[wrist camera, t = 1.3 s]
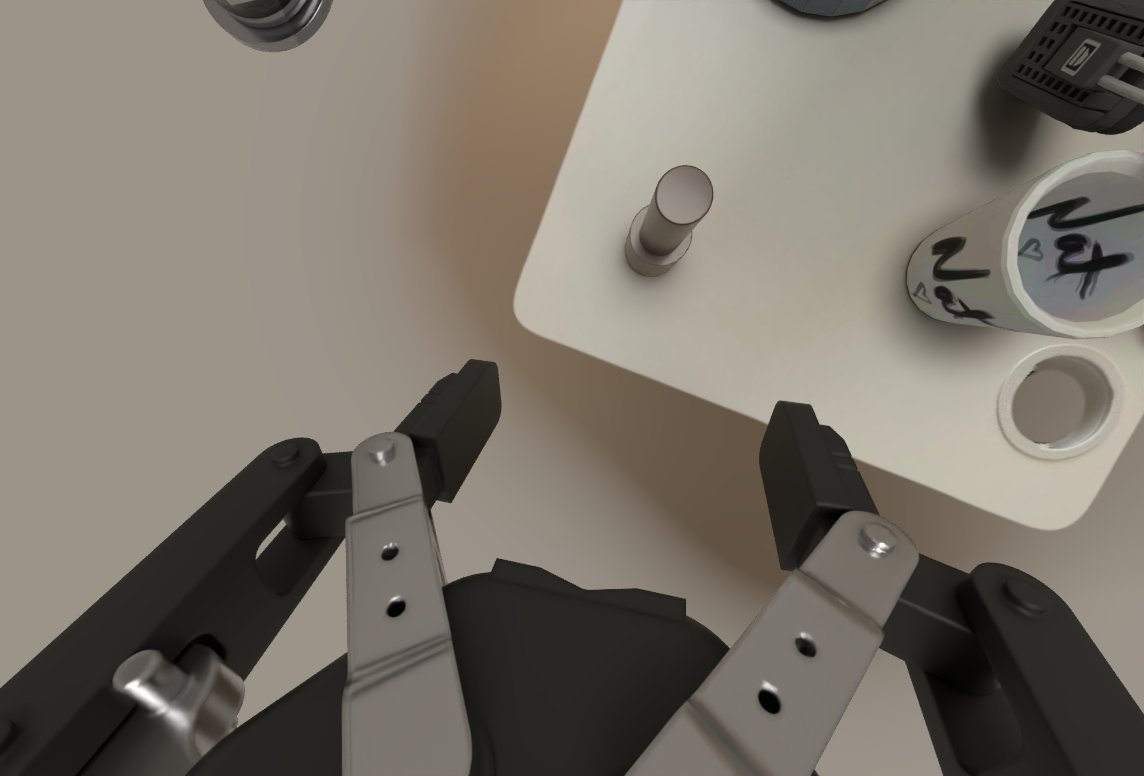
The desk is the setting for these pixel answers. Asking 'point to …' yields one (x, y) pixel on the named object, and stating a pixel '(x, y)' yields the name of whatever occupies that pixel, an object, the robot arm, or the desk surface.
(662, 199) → the pestle
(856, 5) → the bowl
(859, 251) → the desk surface
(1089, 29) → the headphones
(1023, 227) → the mug
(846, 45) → the desk surface
